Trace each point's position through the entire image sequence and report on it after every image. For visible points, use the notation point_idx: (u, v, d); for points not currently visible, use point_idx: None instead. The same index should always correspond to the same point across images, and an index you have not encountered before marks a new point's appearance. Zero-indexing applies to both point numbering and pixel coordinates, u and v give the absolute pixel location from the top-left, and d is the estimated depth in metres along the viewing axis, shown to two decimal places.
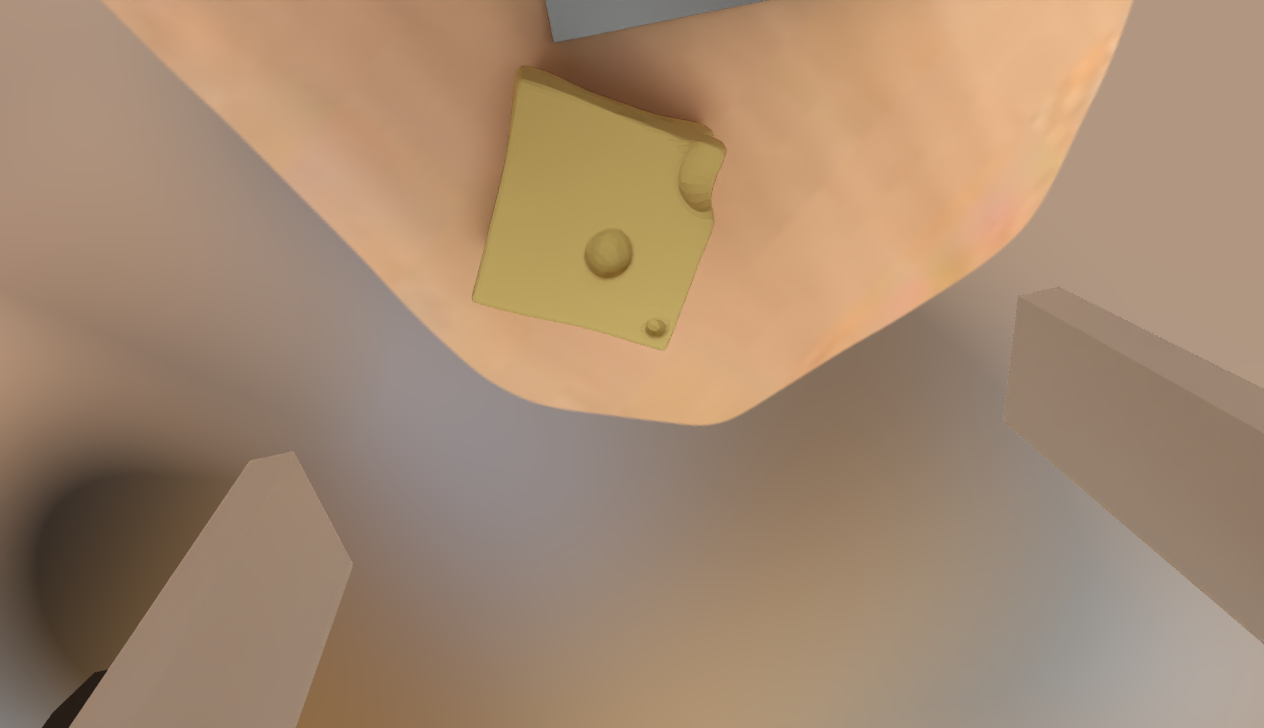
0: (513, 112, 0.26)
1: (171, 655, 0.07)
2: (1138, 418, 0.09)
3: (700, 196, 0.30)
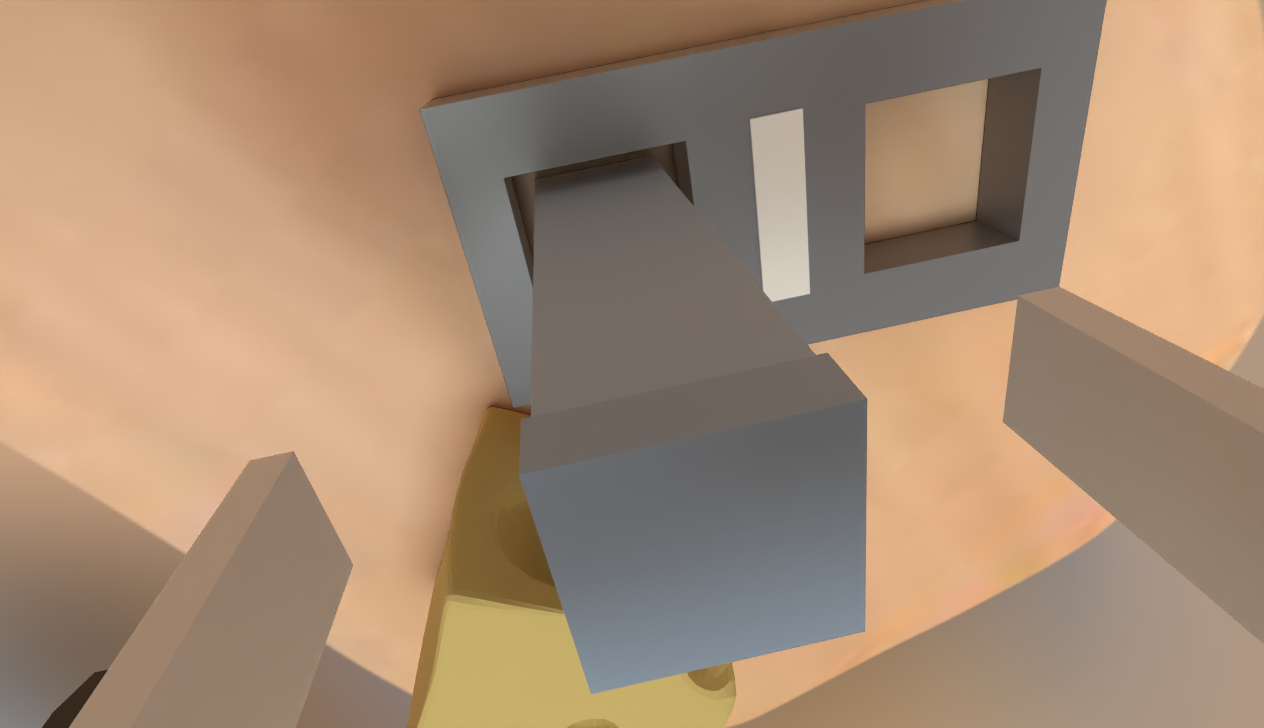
0: (440, 629, 0.17)
1: (171, 655, 0.07)
2: (1137, 417, 0.09)
3: None
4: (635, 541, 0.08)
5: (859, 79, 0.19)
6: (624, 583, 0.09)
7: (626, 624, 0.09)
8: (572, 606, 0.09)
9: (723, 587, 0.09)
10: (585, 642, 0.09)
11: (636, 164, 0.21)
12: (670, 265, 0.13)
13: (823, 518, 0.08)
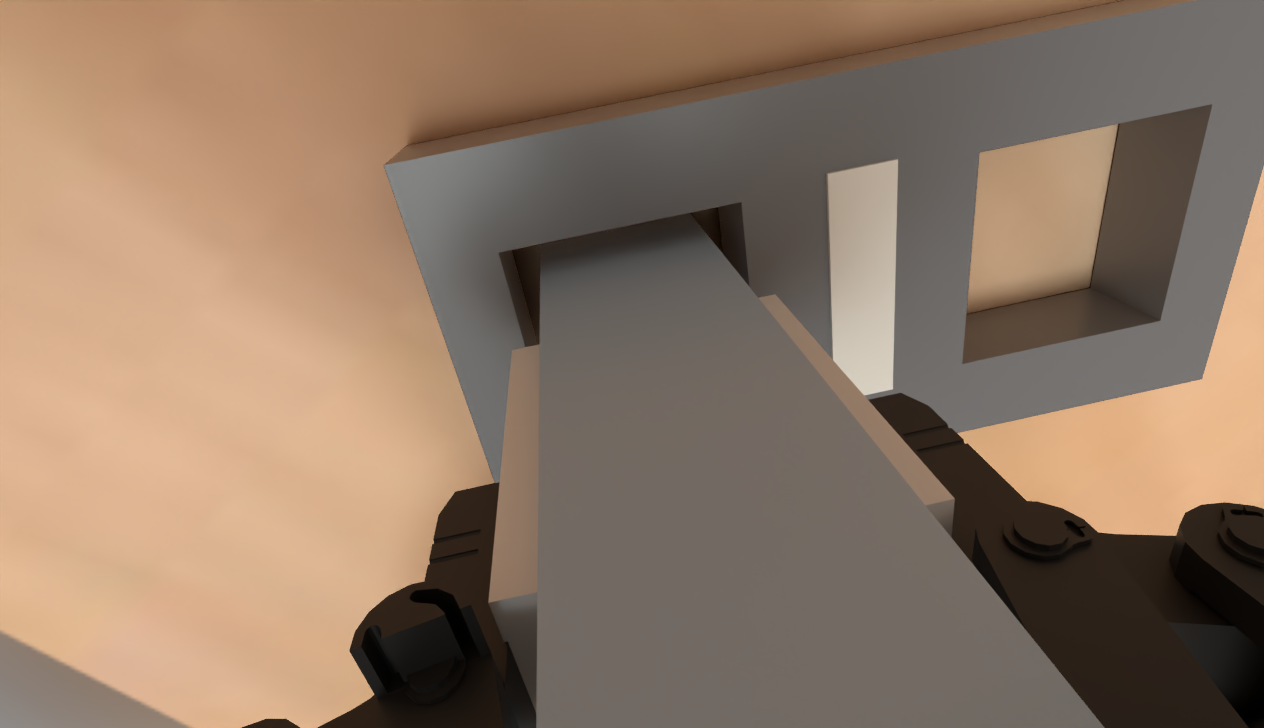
0: None
1: None
2: None
3: None
4: None
5: (973, 121, 0.14)
6: None
7: None
8: None
9: None
10: None
11: (671, 227, 0.16)
12: (760, 445, 0.08)
13: None
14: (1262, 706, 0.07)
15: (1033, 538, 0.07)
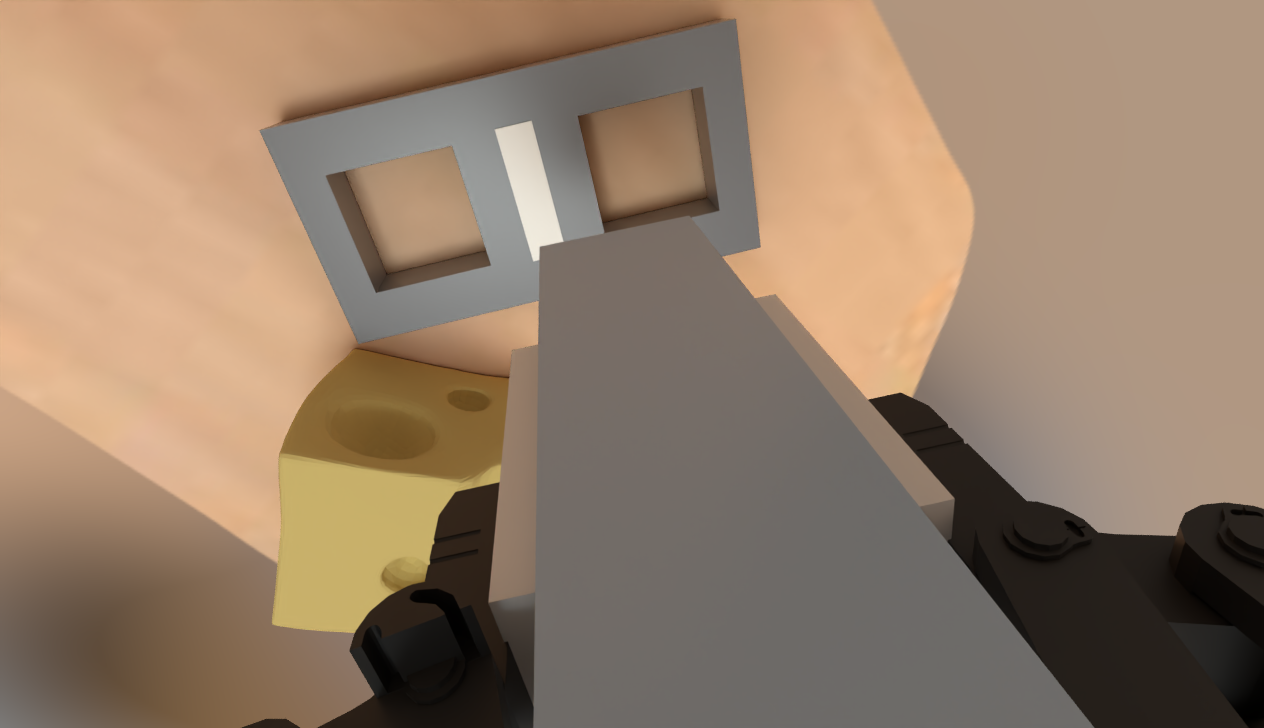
0: (279, 480, 0.26)
1: None
2: None
3: None
4: None
5: (569, 99, 0.27)
6: None
7: None
8: None
9: None
10: None
11: (670, 229, 0.16)
12: (757, 448, 0.08)
13: None
14: (1262, 705, 0.07)
15: (1033, 538, 0.07)
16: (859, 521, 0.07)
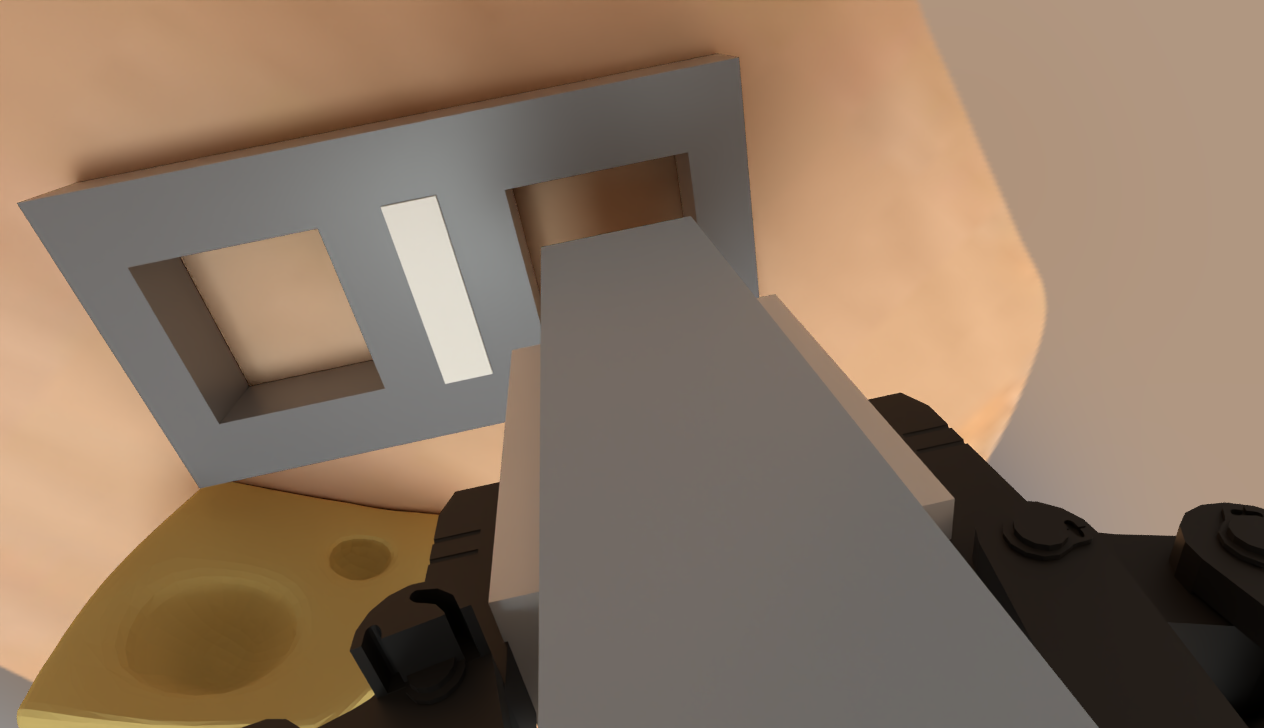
0: None
1: None
2: None
3: None
4: None
5: (491, 166, 0.18)
6: None
7: None
8: None
9: None
10: None
11: (672, 229, 0.16)
12: (761, 449, 0.08)
13: None
14: (1262, 706, 0.07)
15: (1032, 538, 0.07)
16: (863, 522, 0.07)
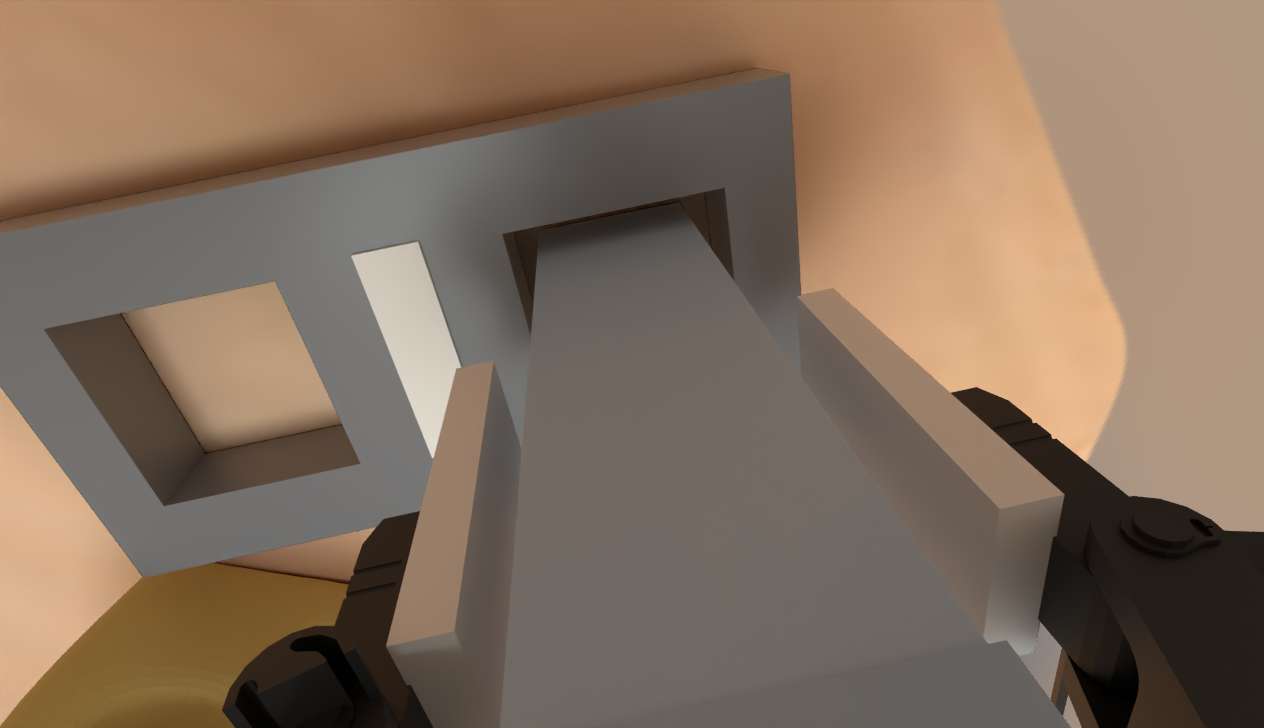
0: None
1: (472, 491, 0.09)
2: (857, 400, 0.11)
3: None
4: None
5: (486, 206, 0.15)
6: None
7: None
8: None
9: None
10: None
11: (660, 214, 0.17)
12: (714, 392, 0.09)
13: None
14: None
15: (1154, 534, 0.07)
16: (790, 445, 0.08)
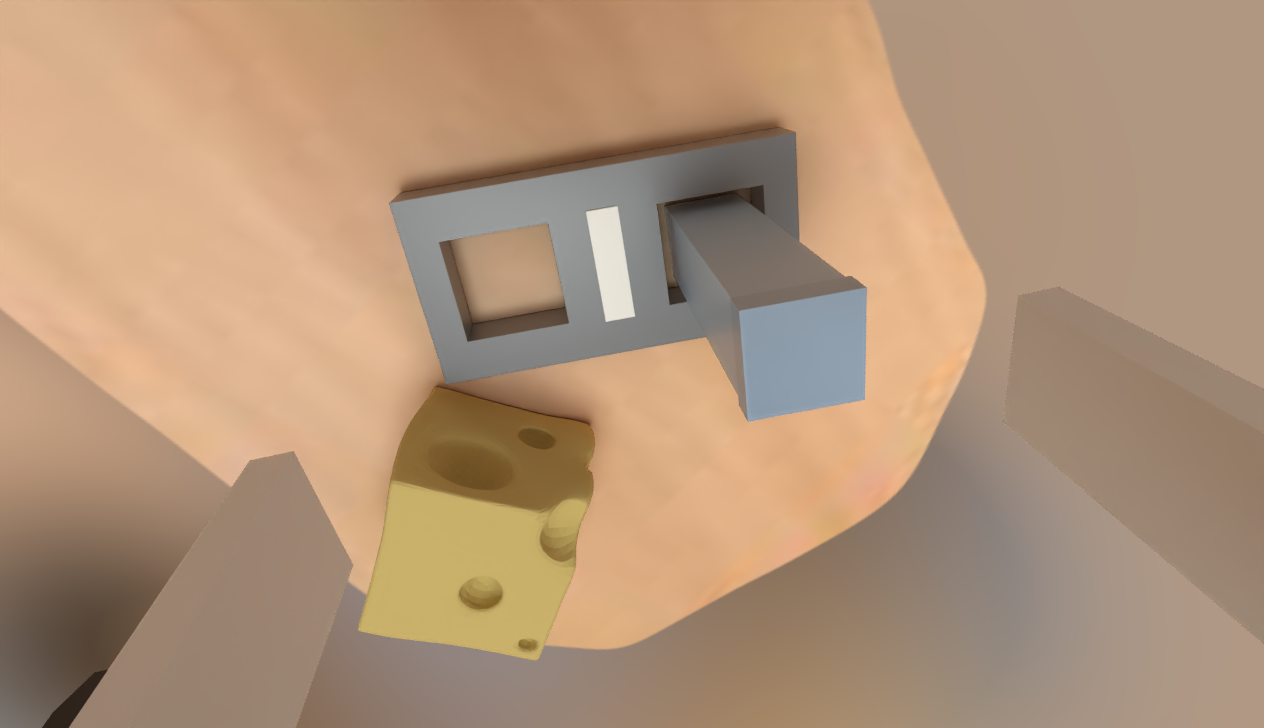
0: (387, 503, 0.30)
1: (171, 655, 0.07)
2: (1137, 417, 0.09)
3: (566, 538, 0.34)
4: (776, 344, 0.21)
5: (650, 190, 0.32)
6: (769, 364, 0.22)
7: (767, 384, 0.22)
8: (748, 373, 0.22)
9: (807, 369, 0.22)
10: (749, 392, 0.22)
11: (728, 198, 0.34)
12: (771, 248, 0.26)
13: (848, 339, 0.21)
14: None
15: None
16: (798, 256, 0.25)
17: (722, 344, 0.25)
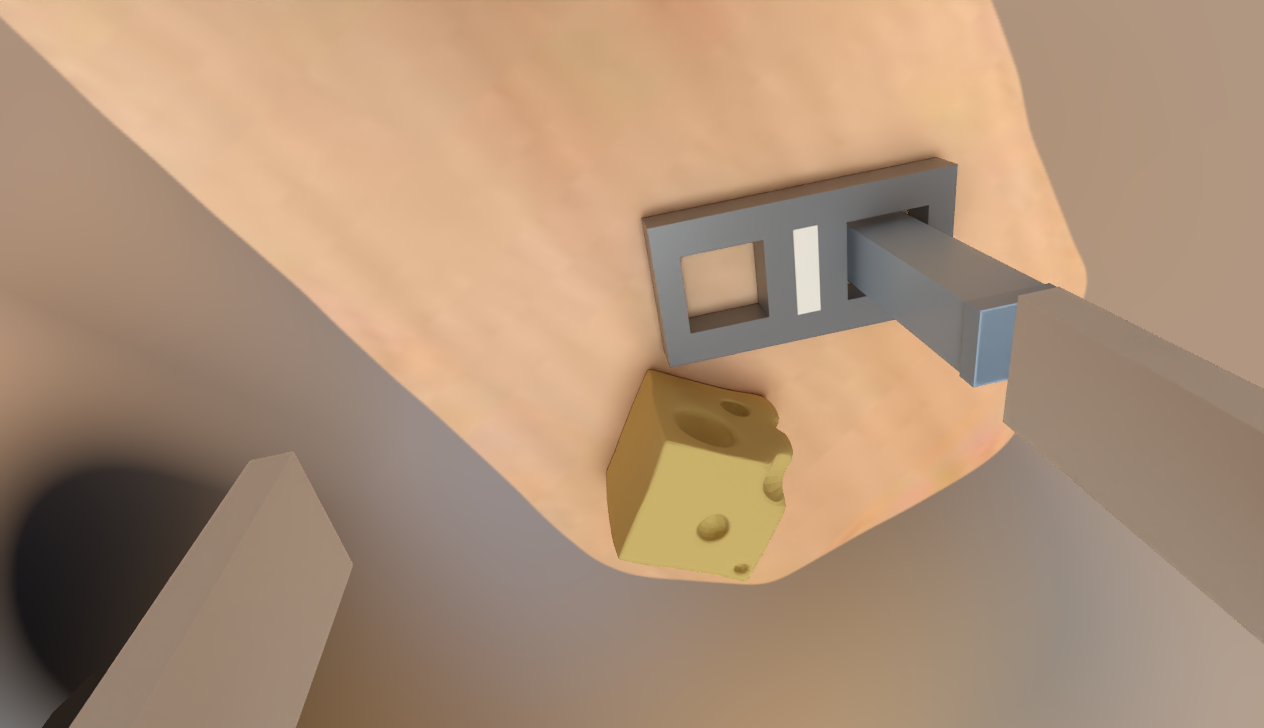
0: (659, 458, 0.39)
1: (172, 655, 0.07)
2: (1137, 417, 0.09)
3: (775, 484, 0.43)
4: (1001, 332, 0.31)
5: (843, 212, 0.41)
6: (994, 346, 0.31)
7: (990, 361, 0.31)
8: (979, 353, 0.31)
9: None
10: (978, 367, 0.31)
11: (894, 214, 0.43)
12: (967, 260, 0.35)
13: None
14: None
15: None
16: (995, 267, 0.34)
17: (936, 332, 0.35)
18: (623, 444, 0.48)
